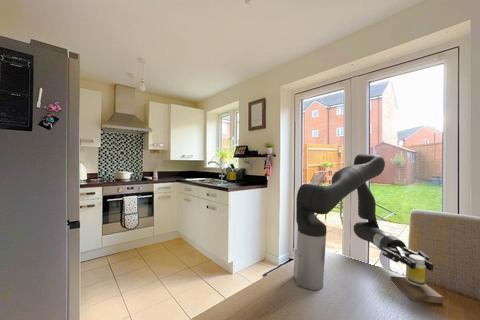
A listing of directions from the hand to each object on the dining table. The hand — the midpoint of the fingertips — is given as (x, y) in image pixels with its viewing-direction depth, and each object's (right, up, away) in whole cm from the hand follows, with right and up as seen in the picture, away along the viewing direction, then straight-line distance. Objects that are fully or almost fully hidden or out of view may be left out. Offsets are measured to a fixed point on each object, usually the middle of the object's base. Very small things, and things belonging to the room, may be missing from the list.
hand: (423, 267), depth 67 cm
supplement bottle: (0, -7, +3) cm, 7 cm away
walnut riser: (0, -10, +3) cm, 10 cm away
